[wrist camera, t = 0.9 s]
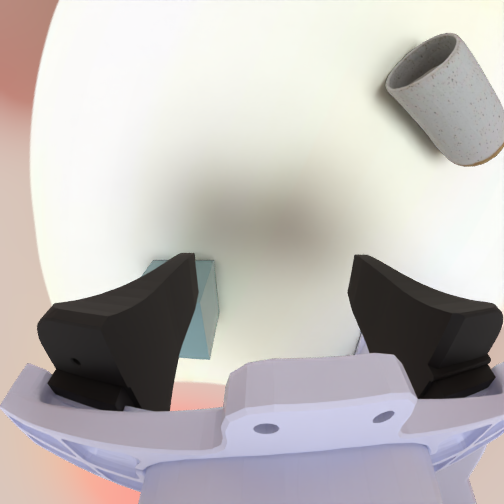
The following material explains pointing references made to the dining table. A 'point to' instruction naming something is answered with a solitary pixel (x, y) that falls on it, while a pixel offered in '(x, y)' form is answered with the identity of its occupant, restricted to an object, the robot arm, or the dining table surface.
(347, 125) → the dining table surface
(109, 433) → the robot arm
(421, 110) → the ceramic mug
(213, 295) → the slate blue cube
